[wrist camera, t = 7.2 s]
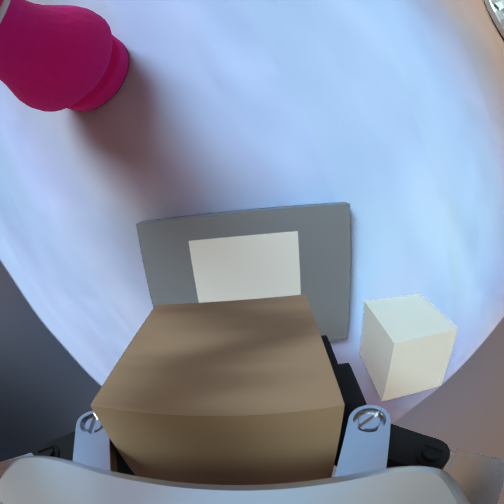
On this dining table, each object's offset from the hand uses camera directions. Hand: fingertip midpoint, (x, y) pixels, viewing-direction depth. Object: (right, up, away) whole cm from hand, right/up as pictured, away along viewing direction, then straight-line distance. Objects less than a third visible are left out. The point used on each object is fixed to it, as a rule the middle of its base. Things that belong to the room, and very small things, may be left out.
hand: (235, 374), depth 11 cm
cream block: (+12, -1, +10) cm, 16 cm away
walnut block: (0, 0, +1) cm, 1 cm away
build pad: (0, +3, +9) cm, 10 cm away
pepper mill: (-11, +18, +5) cm, 22 cm away
